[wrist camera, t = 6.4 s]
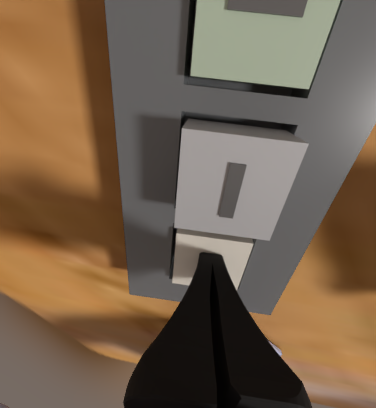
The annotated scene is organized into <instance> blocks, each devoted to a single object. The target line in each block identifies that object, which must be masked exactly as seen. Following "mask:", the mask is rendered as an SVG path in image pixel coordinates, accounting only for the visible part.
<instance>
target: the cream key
mask: <svg viewBox="0 0 376 408" xmlns="http://www.w3.org/2000/svg"><path fill="white" fill-rule="evenodd" d="M253 244H254V243H253V240H252V238H246V237H238V236H231V235H224V234H216V233H209V232H202V231H194V230H187V229H180V228H178V229H177V234H176V245H175V257H174V268H173V279H172V283H175V284H182V285H190V283H191V281H192V278H193V276H194V273H195V271H196V268H197V265H198V259H199V253H201V252H204V253H211V254H218V255H222V256H223V259H224V262H225V265H226V268H227V270H228V273H229V275H230V277H231V280H232V282H233V284H234V286H235V288H236V290H237V289H238V286H239V283H240V281H241V278H242V275H243V272H244V269H245V267H246V264H247V261H248V258H249V255H250V253H251V250H252V247H253Z"/></svg>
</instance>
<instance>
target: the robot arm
mask: <svg viewBox="0 0 376 408" xmlns="http://www.w3.org/2000/svg"><path fill="white" fill-rule="evenodd" d="M281 355H282V352H281V350H280V349H279V348H277V347H276V346H275V345H273V344H272V343H271V342H270V341H268V340H267V338H266V337H265V336H264V334H263V333H262V332H261V330H260V329H259V327H258V326H257V324H256V323H255V321H254V320H253V318H252V317H251V315H250V314H249V312H248V310H247V309H246V307H245V305H244V303H243V302H242V300H241V298H240V296H239V294H238V292H237V290H236V288H235V286H234V284H233V282H232V280H231V277H230V275H229V273H228V270H227V268H226V265H225V262H224V259H223V256H222V255H218V254H211V253H204V252H201V253H199V259H198V265H197V268H196V271H195V273H194V276H193V278H192V281H191V283H190V285H189V287H188V289H187V291H186V293H185V295H184V297H183V299H182V300H181V302H180V304H179V305H178V307H177V309H176V310H175V312H174V313H173V315H172V317H171V318H170V320H169V321H168V323H167V324H166V325H165V327H164V328H163V329H162V331H161V332H160V334H159V335H158V336H157V338H156V339H155V340H154V341H153V343H152V344H151V345H150V346H149V348H148V349H147V350H146V351H145V353H144V354H143V355H142V357H141V359H140V361H139V362H138V364H137V366H136V368H135V370H134V372H133V374H132V376H131V378H130V380H129V383H128V386H127V389H126V393H125V397H124V402H123V403H124V408H312V406H311V402H310V400H309V397H308V395H307V392H306V390H305V388H304V385H303V383H302V381H301V380H300V379H299V378H298V377H297V376H296V374H295V373H294V372H293V371H292V370H291V369H290V368H289V366H288V365H287V364H286V363H285V362H284V360H283V359H282V358H281V357H280V356H281ZM0 408H9V407H8V406H6V405H4V404H2V403H0Z"/></svg>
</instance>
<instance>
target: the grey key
mask: <svg viewBox="0 0 376 408" xmlns="http://www.w3.org/2000/svg"><path fill="white" fill-rule="evenodd" d="M308 145H309V143H307V142H305V141H304V140H302V139H300V138H298V137H297V136H295V135H293V134H292V133H290V132H288V131H287V130H280V129H272V128H263V127H255V126H247V125H238V124H230V123H222V122H213V121H205V120H197V119H188V120H187V121H186V123H185V124H184V126H183V127H182V133H181V146H180V159H179V172H178V184H177V197H176V210H175V223H174V228H180V229H187V230H194V231H202V232H209V233H216V234H224V235H231V236H238V237H246V238H253V239H260V240H268V241H270V238H271V236H272V233H273V231H274V228H275V226H276V223H277V221H278V219H279V216H280V214H281V211H282V209H283V206H284V204H285V201H286V199H287V196H288V194H289V192H290V189H291V187H292V184H293V182H294V179H295V177H296V174H297V172H298V169H299V167H300V164H301V162H302V160H303V157H304V155H305V152H306V150H307V147H308Z"/></svg>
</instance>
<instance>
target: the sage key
mask: <svg viewBox="0 0 376 408" xmlns="http://www.w3.org/2000/svg"><path fill="white" fill-rule="evenodd" d="M339 3H340V0H197V5H196V17H195V28H194V40H193V51H192V63H191V74H190V76H192V77H194V78H201V79H209V80H218V81H227V82H236V83H245V84H253V85H262V86H271V87H280V88H291V89H309V87H310V85H311V82H312V79H313V76H314V73H315V71H316V68H317V65H318V62H319V59H320V57H321V54H322V51H323V48H324V45H325V43H326V40H327V37H328V34H329V31H330V29H331V26H332V23H333V20H334V17H335V15H336V12H337V9H338V6H339Z"/></svg>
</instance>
